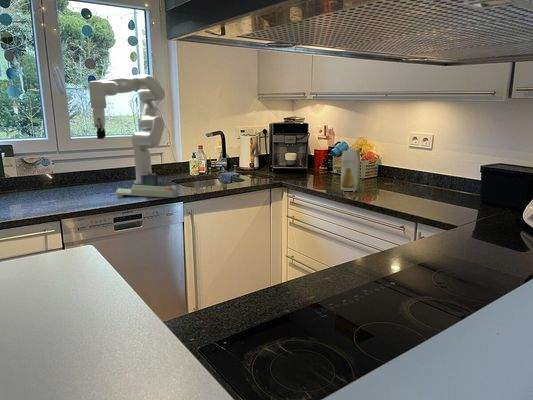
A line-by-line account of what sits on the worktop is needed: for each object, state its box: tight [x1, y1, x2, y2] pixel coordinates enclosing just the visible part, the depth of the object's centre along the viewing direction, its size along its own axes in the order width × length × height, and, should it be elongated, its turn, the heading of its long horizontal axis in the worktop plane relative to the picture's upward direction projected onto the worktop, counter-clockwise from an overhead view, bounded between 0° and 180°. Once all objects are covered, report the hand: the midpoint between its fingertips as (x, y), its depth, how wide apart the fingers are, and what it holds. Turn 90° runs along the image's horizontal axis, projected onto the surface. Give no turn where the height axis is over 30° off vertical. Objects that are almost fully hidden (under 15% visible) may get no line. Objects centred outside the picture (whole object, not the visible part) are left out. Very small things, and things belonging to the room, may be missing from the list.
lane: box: [115, 184, 178, 199], centre depth 215 cm, size 11×30×6 cm, turn 106°
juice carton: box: [340, 147, 361, 193], centre depth 227 cm, size 9×8×24 cm
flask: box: [140, 171, 159, 186], centre depth 233 cm, size 9×3×11 cm, turn 109°
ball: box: [164, 185, 172, 191], centre depth 218 cm, size 4×4×4 cm
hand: (101, 138), depth 218 cm, fingers open, 9 cm apart
